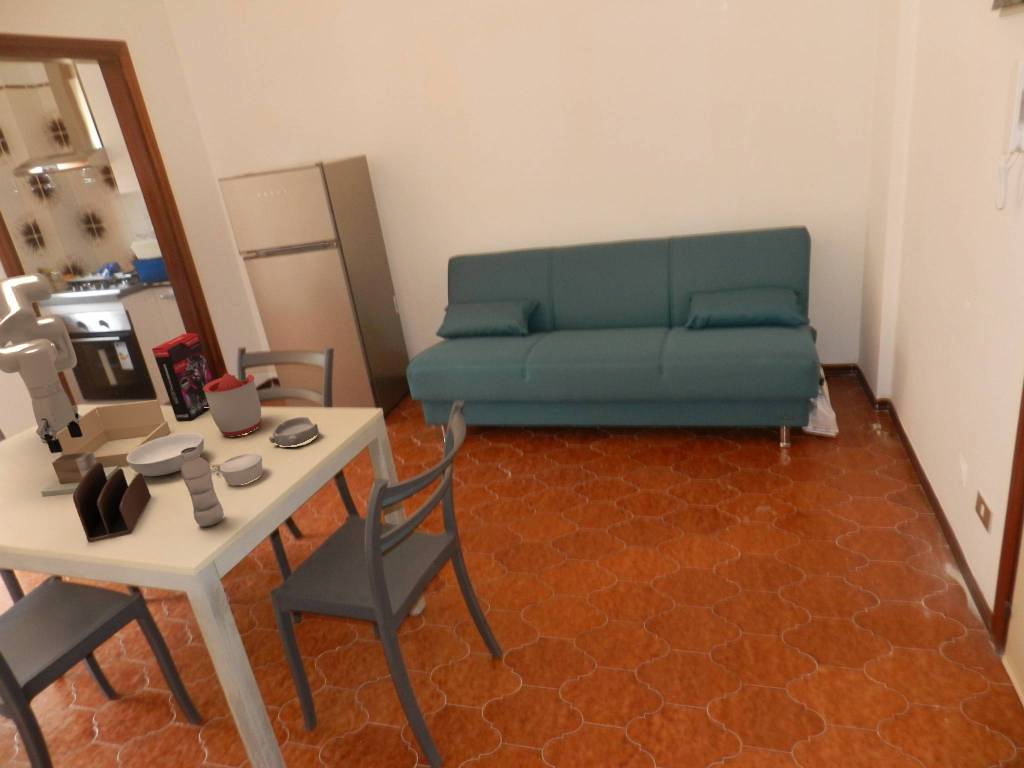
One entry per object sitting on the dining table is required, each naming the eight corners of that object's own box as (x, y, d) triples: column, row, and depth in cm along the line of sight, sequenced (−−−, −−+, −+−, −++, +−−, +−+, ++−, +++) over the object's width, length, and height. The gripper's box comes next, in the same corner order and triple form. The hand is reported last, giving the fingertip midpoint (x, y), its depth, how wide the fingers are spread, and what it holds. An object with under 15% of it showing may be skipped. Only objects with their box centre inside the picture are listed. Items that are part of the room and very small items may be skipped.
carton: (107, 439, 233) (95, 406, 229) (170, 432, 232) (160, 399, 228) (64, 472, 210) (50, 437, 206) (134, 464, 210) (121, 429, 205)
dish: (302, 427, 222) (298, 413, 220) (330, 434, 214) (326, 419, 212) (264, 446, 211) (260, 431, 210) (292, 454, 203) (288, 439, 202)
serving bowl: (224, 453, 210) (218, 432, 208) (172, 487, 192) (164, 465, 189) (171, 450, 217) (165, 430, 215) (116, 483, 199) (109, 461, 197)
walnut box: (70, 476, 204) (62, 454, 201) (100, 472, 203) (92, 451, 201) (60, 484, 199) (51, 462, 197) (90, 481, 199) (82, 459, 196)
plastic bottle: (202, 518, 173) (179, 446, 166) (229, 514, 173) (207, 442, 166) (193, 532, 167) (169, 458, 160) (221, 527, 167) (198, 453, 160)
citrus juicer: (278, 418, 232) (264, 362, 225) (249, 440, 217) (232, 381, 210) (238, 418, 236) (223, 364, 229) (206, 441, 221) (189, 383, 214)
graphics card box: (191, 421, 239) (168, 347, 230) (174, 422, 241) (150, 348, 232) (220, 402, 255) (199, 332, 246) (203, 403, 257) (182, 333, 247)
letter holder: (88, 543, 168) (68, 492, 163) (113, 504, 186) (95, 458, 181) (131, 534, 170) (113, 483, 165) (152, 496, 188) (136, 450, 183)
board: (68, 476, 208) (66, 472, 207) (119, 470, 207) (118, 466, 206) (42, 496, 196) (40, 491, 196) (97, 490, 196) (95, 485, 195)
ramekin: (255, 465, 199) (250, 449, 197) (273, 475, 191) (268, 458, 189) (217, 481, 192) (212, 464, 190) (234, 493, 184) (229, 475, 182)
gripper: (52, 379, 200) (72, 432, 206) (12, 403, 184) (35, 459, 190) (77, 377, 199) (96, 430, 206) (39, 400, 183) (62, 457, 190)
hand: (67, 444), depth 198 cm, fingers open, 9 cm apart
